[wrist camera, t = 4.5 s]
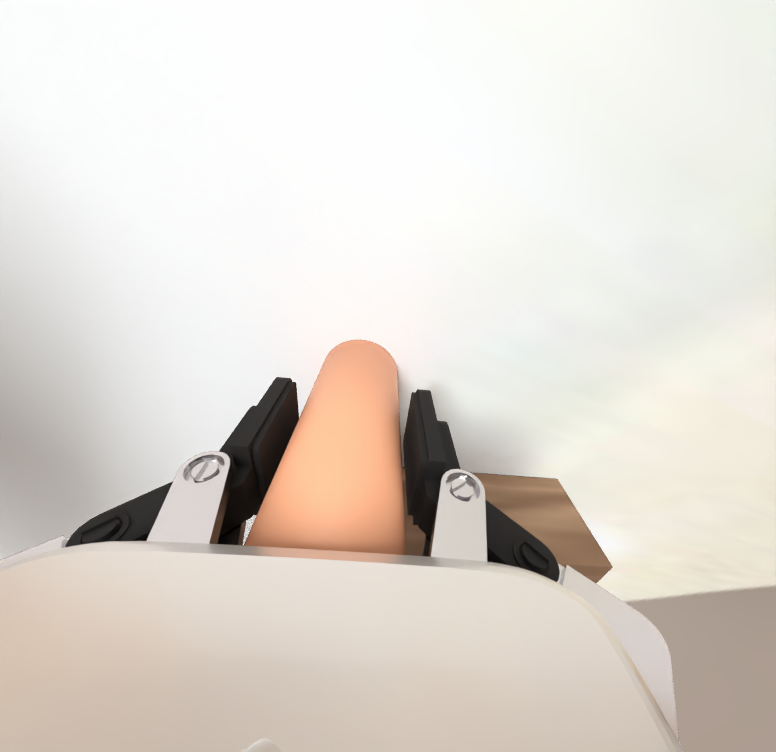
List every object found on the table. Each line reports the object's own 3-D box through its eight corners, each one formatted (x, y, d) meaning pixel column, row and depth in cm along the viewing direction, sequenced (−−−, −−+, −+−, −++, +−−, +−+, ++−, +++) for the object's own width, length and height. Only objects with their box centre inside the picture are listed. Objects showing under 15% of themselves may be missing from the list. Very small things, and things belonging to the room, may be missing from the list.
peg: (322, 336, 14) (118, 710, 3) (401, 343, 14) (436, 719, 4) (323, 400, 16) (199, 758, 5) (393, 406, 16) (399, 762, 6)
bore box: (294, 459, 18) (261, 546, 13) (557, 479, 19) (612, 567, 14) (307, 586, 27) (290, 664, 23) (484, 595, 28) (503, 673, 23)
